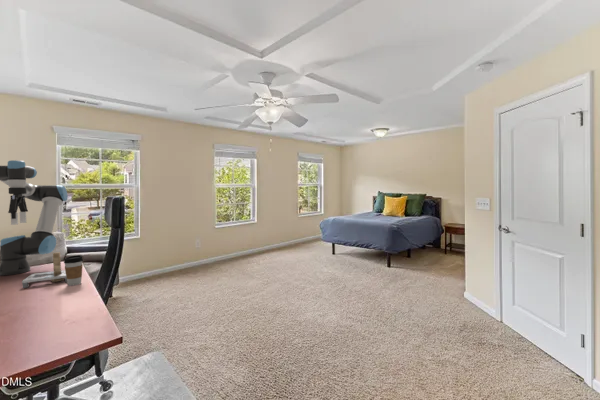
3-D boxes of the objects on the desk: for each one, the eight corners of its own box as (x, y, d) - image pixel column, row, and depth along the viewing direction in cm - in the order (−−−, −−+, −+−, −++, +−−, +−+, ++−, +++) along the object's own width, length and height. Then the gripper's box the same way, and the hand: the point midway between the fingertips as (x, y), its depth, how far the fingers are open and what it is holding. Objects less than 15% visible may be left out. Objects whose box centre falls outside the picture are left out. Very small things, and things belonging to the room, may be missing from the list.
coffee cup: (87, 281, 164) (86, 255, 164) (74, 286, 156) (73, 258, 155) (74, 281, 165) (73, 255, 164) (60, 286, 156) (59, 258, 156)
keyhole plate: (32, 280, 169) (32, 273, 169) (75, 275, 178) (75, 268, 178) (22, 288, 155) (22, 280, 155) (70, 282, 164) (69, 275, 164)
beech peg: (52, 280, 169) (51, 252, 169) (65, 278, 172) (63, 251, 171) (50, 282, 164) (48, 254, 164) (62, 280, 167) (61, 252, 166)
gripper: (17, 187, 181) (18, 222, 181) (-1, 186, 159) (1, 225, 159) (33, 187, 184) (34, 221, 185) (18, 186, 162) (19, 224, 163)
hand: (19, 223), depth 172 cm, fingers open, 13 cm apart
